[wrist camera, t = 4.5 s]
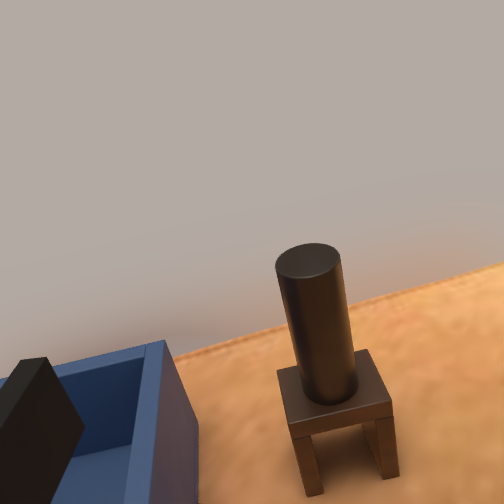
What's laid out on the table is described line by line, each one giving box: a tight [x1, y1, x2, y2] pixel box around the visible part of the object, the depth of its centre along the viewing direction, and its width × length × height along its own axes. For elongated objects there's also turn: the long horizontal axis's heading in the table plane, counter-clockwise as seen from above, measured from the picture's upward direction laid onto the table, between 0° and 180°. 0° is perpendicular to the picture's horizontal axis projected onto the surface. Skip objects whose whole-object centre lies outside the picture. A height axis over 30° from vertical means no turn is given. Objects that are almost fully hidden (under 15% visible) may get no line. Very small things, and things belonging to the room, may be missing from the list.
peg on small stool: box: [275, 243, 399, 497], centre depth 25 cm, size 5×4×14 cm
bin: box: [0, 340, 198, 504], centre depth 26 cm, size 12×12×8 cm
